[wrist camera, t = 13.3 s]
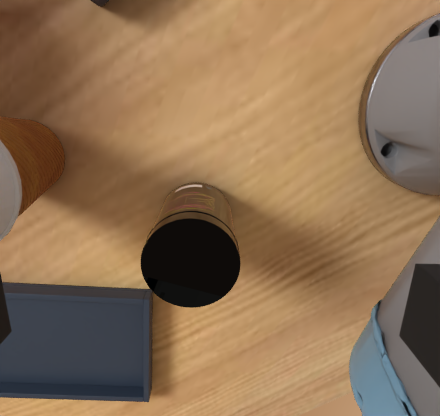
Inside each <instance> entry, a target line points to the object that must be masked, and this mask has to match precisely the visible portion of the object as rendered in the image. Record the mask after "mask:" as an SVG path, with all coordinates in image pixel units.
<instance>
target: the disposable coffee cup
mask: <svg viewBox="0 0 440 416" xmlns="http://www.w3.org/2000/svg"><path fill="white" fill-rule="evenodd" d="M64 164H65V155H64V151H63V148H62V145H61V143H60V141H59V140H58V138H57V137H56V135H55V134H54V133H53V132H52V131H51V130H49V129H48V128H47V127H45V126H44V125H42V124H40V123H38V122H35V121H32V120H25V119H15V118H6V117H0V241H1V240H2V239H3V238H4V237H5V236H6V235H7V234H8V233H9V232H10V230H11V228H12V227H13V225H14V223H15V221H16V219H17V217H18V216H19V215H20V214H22V213H23V212H24V211H25V210H26V209H27V208H28V207H29V206H30V205H31V204H32V203H33V202H34V201H36V200H37V198H38V197H40V196H41V195H42V194H43V193H44V192H45V191H46V190H47V189H48V188H49V187H50V186H51V185H53V183H55V182H56V181H57V180H58V179H59V177H60V176H61V174H62V172H63V169H64Z"/></svg>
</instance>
